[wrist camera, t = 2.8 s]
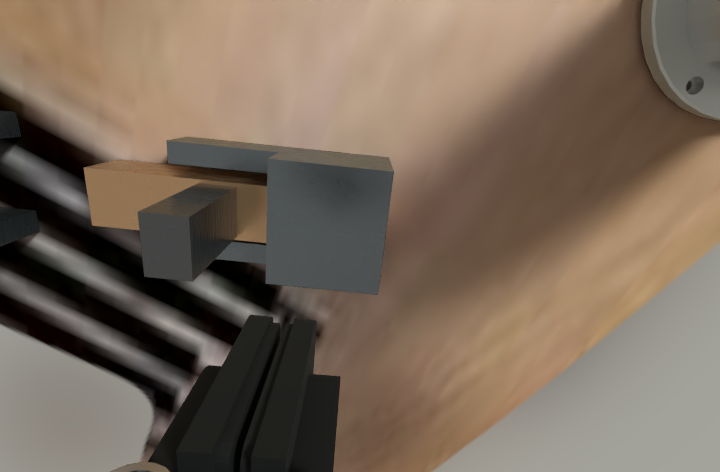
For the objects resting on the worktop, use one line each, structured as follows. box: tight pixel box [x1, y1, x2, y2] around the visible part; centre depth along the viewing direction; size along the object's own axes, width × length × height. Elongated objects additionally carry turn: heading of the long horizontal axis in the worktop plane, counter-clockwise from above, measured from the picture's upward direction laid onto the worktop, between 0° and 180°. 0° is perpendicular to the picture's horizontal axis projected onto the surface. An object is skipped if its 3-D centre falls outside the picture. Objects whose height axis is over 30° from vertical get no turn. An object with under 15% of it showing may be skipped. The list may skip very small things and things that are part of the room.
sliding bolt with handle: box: [84, 160, 267, 282], centre depth 19 cm, size 16×3×8 cm, turn 84°
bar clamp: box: [0, 111, 394, 295], centre depth 21 cm, size 27×7×5 cm, turn 84°
